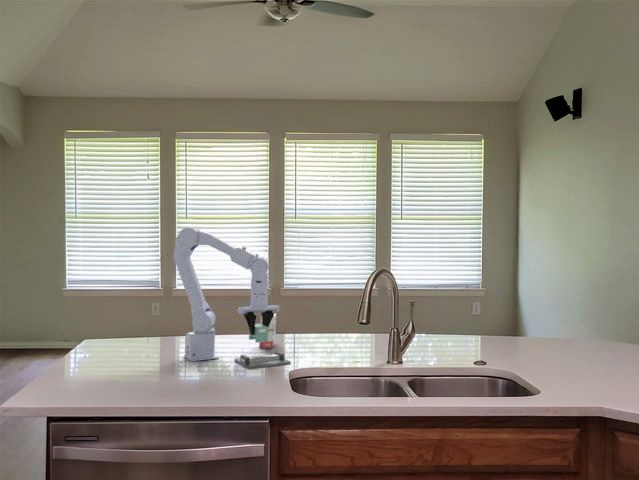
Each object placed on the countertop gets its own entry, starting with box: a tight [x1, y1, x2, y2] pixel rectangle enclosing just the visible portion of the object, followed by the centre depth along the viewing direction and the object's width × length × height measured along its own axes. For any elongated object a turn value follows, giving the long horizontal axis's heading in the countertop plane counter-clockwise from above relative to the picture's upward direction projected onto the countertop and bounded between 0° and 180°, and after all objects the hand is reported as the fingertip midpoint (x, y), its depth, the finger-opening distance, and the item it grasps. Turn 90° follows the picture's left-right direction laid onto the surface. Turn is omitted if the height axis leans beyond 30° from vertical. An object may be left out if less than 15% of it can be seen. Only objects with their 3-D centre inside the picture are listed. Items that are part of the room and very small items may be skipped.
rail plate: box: [234, 350, 292, 370], centre depth 178 cm, size 15×11×3 cm
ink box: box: [258, 313, 277, 349], centre depth 204 cm, size 9×5×12 cm, turn 177°
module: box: [248, 323, 268, 343], centre depth 183 cm, size 4×6×5 cm, turn 32°
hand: (258, 334), depth 183 cm, fingers closed on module, 4 cm apart
